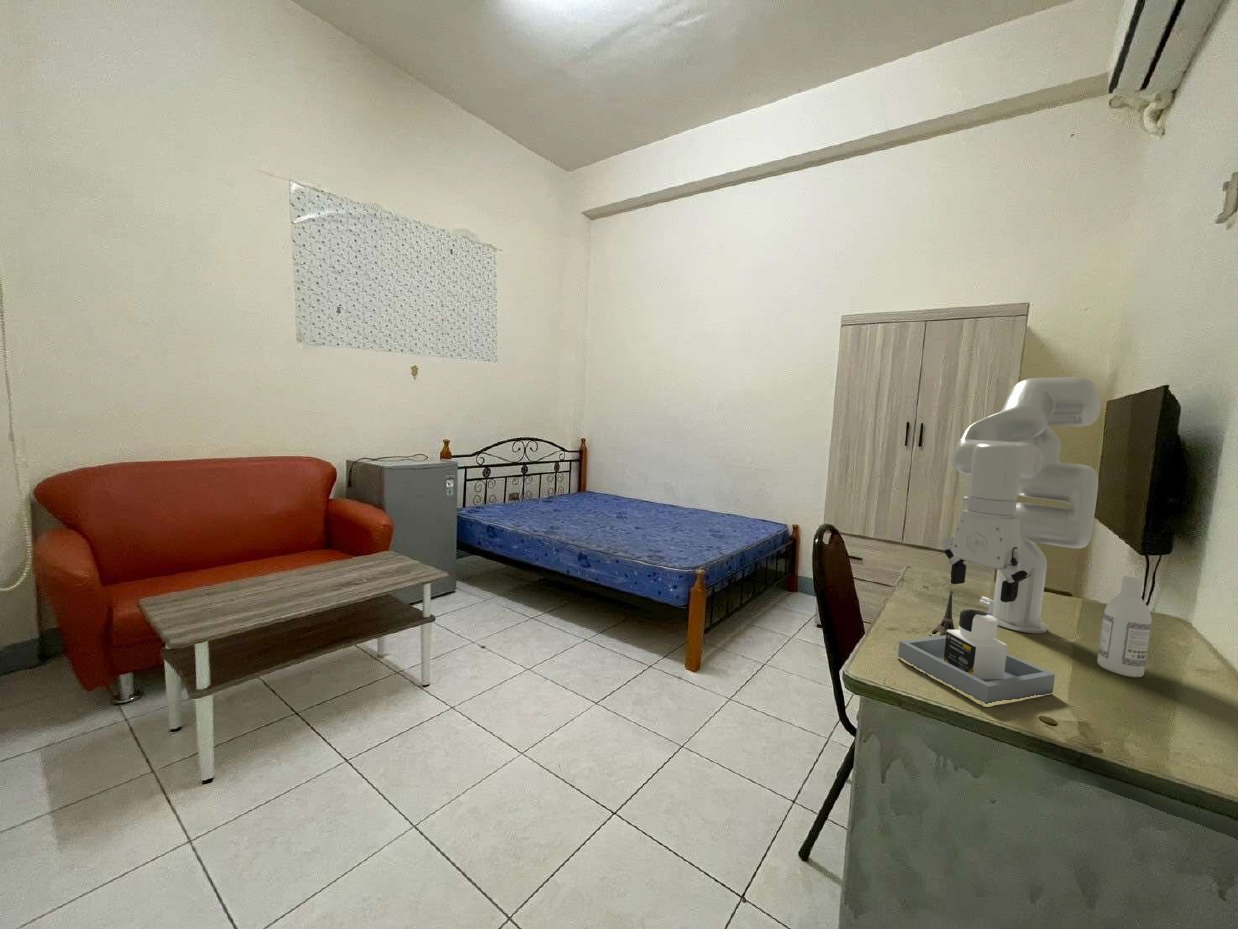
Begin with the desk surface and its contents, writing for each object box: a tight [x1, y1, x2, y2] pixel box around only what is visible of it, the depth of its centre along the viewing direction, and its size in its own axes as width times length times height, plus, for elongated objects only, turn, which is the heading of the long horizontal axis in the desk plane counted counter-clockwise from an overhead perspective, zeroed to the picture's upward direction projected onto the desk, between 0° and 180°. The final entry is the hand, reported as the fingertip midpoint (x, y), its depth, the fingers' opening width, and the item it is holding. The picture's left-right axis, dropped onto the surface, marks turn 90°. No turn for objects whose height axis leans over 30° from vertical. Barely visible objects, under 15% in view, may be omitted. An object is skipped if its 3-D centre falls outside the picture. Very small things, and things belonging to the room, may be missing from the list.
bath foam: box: [1096, 575, 1153, 678], centre depth 102 cm, size 7×7×20 cm
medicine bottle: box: [943, 609, 1008, 680], centre depth 96 cm, size 7×7×12 cm
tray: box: [897, 635, 1056, 704], centre depth 97 cm, size 18×18×4 cm
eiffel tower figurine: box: [931, 587, 956, 636], centre depth 113 cm, size 15×10×13 cm
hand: (981, 591), depth 96 cm, fingers open, 9 cm apart
